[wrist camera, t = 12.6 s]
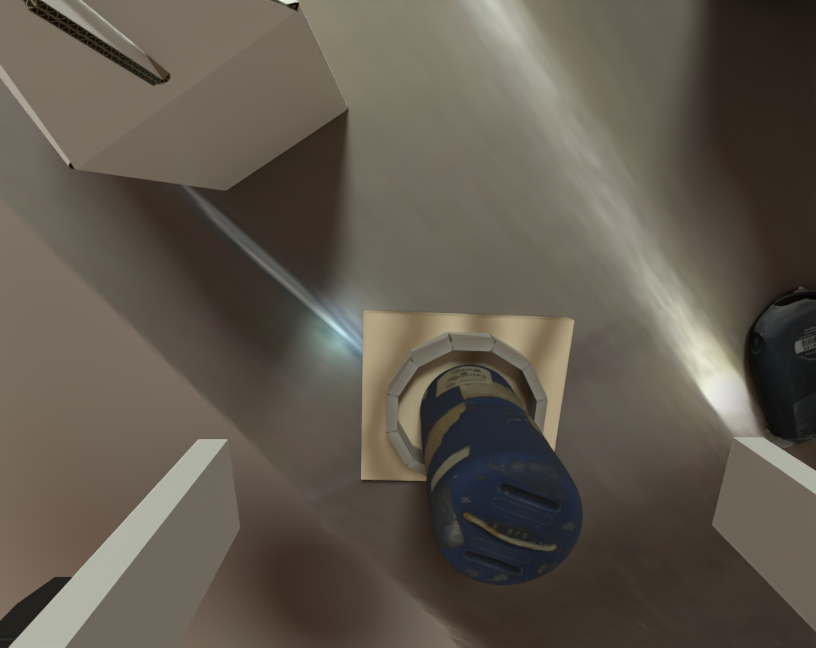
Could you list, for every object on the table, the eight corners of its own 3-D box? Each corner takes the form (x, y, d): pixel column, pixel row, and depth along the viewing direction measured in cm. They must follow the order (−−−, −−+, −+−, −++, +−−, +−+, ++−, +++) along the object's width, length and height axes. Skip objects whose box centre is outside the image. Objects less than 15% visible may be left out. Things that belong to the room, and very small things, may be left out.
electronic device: (831, 396, 44) (838, 274, 38) (882, 430, 39) (899, 295, 33) (738, 418, 46) (732, 304, 40) (775, 453, 41) (774, 329, 35)
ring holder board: (569, 317, 39) (586, 327, 36) (545, 476, 44) (558, 499, 40) (364, 310, 39) (361, 319, 35) (362, 472, 43) (358, 495, 40)
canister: (471, 462, 42) (523, 636, 25) (399, 413, 40) (398, 562, 23) (532, 394, 40) (634, 531, 23) (458, 340, 39) (508, 442, 21)
